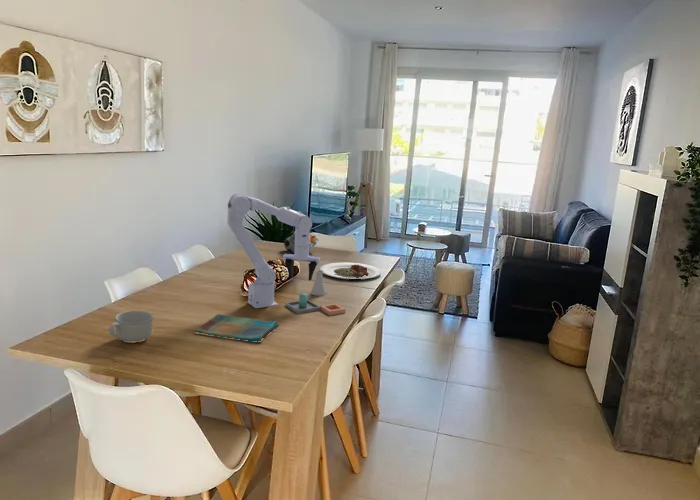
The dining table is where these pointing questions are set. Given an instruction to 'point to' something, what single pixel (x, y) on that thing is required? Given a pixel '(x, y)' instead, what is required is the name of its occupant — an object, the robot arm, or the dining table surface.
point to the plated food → (349, 270)
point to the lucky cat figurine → (290, 242)
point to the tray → (295, 307)
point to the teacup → (132, 325)
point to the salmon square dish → (332, 309)
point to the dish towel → (237, 328)
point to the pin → (302, 300)
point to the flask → (319, 285)
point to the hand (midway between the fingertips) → (300, 278)
